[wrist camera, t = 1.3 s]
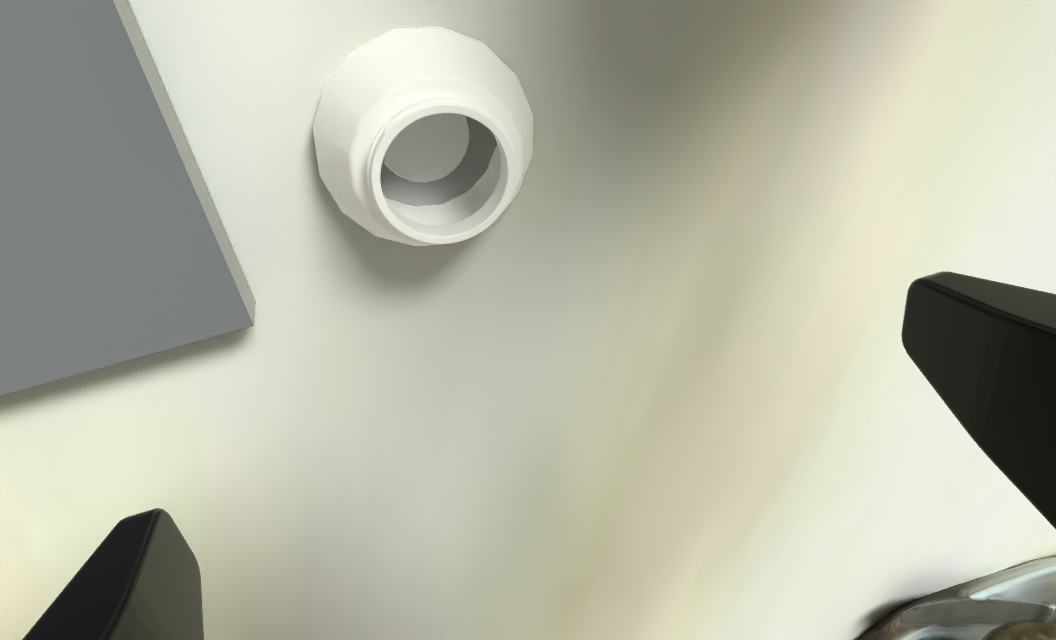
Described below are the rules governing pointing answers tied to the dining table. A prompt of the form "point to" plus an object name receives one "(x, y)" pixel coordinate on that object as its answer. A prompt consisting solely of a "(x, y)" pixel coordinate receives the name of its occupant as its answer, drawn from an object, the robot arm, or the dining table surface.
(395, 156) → the white jar
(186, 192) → the coaster
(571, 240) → the dining table surface
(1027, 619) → the salad plate
